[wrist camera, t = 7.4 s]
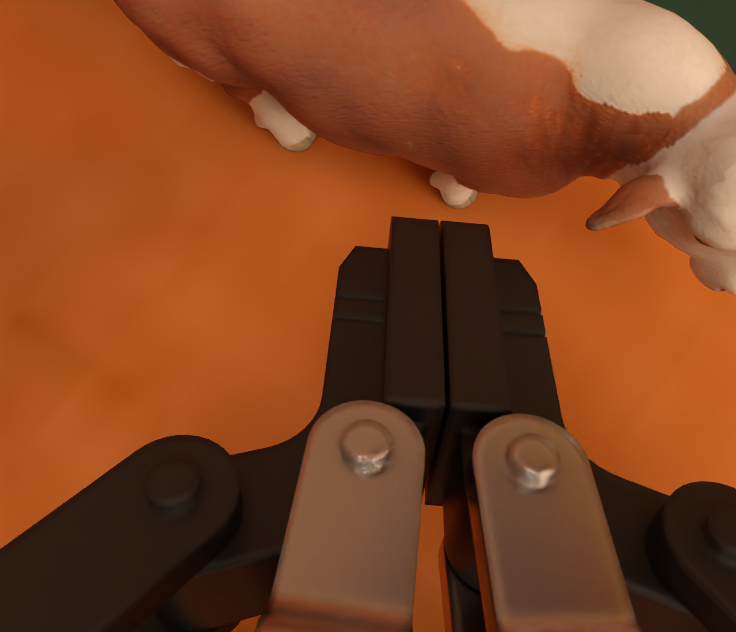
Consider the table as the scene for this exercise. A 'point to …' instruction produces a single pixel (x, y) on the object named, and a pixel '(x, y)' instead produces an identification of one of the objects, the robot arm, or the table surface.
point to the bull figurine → (490, 98)
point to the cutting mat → (709, 22)
